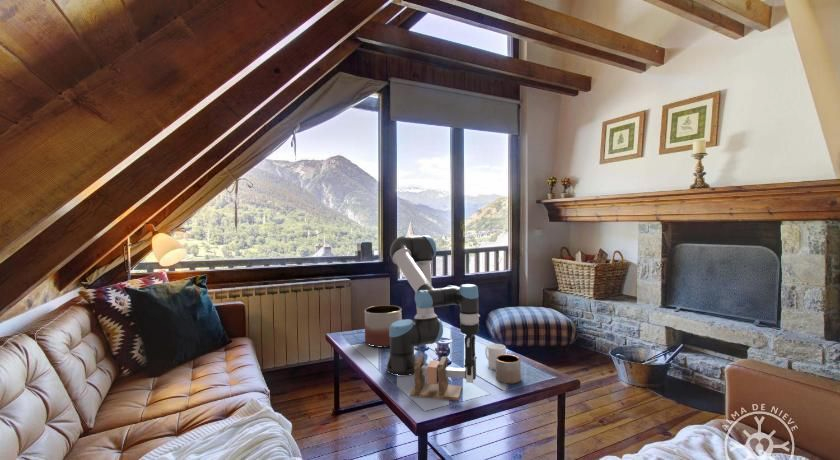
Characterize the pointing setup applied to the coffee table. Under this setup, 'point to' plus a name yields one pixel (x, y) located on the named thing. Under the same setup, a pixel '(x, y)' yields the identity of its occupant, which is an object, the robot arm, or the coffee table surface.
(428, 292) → the robot arm
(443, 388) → the bracket
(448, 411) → the coffee table surface
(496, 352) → the cup
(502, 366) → the planter
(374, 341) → the planter
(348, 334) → the coffee table surface
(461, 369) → the hammer
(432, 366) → the spacer
